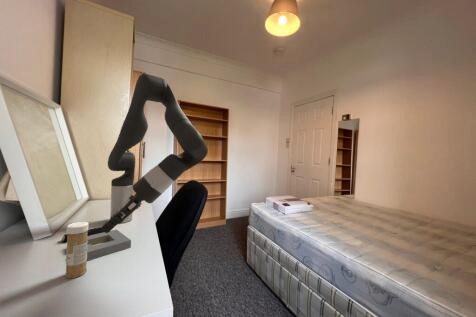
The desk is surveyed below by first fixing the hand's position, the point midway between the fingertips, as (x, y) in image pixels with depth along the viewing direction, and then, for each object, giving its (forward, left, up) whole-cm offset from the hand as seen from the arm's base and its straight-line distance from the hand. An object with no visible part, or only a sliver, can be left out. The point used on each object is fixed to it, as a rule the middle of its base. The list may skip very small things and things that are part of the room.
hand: (108, 225), depth 55 cm
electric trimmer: (-31, +2, -13) cm, 33 cm away
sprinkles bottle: (-4, -6, -13) cm, 15 cm away
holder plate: (-17, +3, -13) cm, 21 cm away
